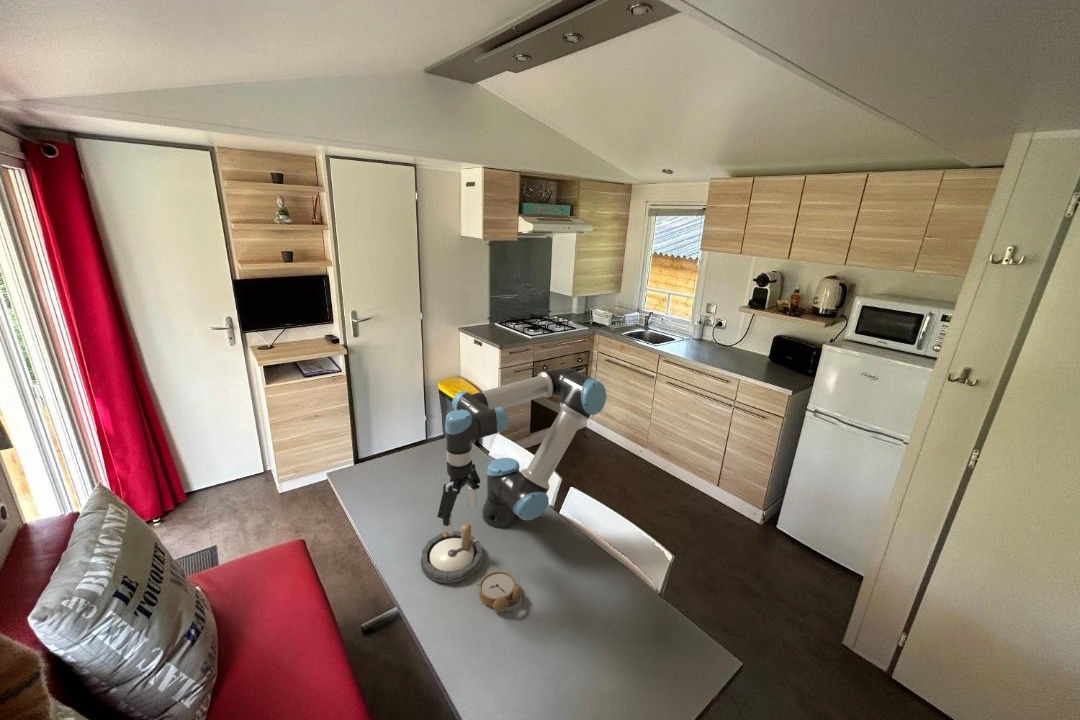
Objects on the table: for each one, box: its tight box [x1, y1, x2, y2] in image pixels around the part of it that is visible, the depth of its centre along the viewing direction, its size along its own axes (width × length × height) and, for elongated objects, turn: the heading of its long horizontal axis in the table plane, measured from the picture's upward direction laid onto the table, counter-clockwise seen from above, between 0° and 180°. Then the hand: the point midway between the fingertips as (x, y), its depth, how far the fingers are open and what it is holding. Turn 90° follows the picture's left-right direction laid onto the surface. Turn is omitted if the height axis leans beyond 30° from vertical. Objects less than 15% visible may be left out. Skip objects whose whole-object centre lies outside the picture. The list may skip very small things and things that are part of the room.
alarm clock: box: [476, 570, 524, 614], centre depth 132 cm, size 11×5×15 cm
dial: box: [430, 523, 474, 572], centre depth 143 cm, size 14×14×10 cm
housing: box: [420, 530, 483, 585], centre depth 145 cm, size 20×20×4 cm
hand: (460, 518), depth 137 cm, fingers open, 13 cm apart
